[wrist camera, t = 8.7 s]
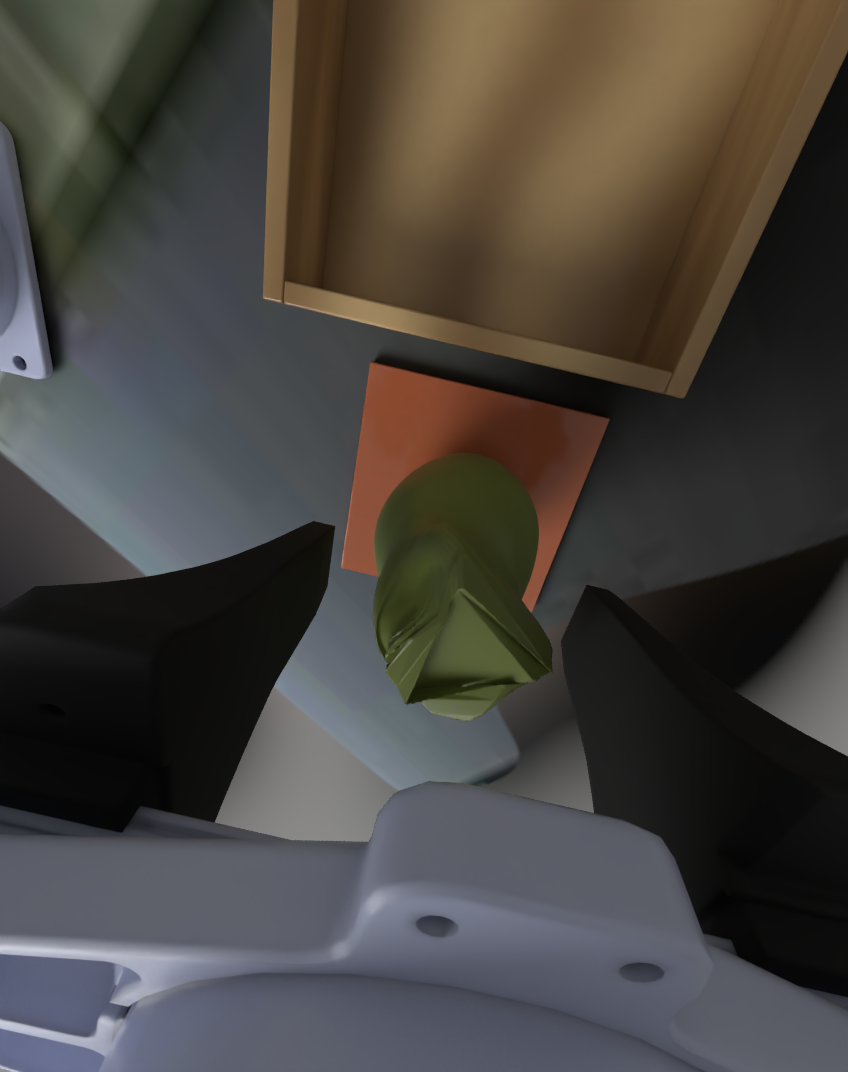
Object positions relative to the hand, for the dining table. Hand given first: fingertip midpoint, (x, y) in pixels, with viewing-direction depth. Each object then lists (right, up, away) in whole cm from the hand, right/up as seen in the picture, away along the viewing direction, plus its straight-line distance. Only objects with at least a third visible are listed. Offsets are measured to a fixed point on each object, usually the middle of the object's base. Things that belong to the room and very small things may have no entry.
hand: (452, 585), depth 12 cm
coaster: (+1, +3, +6) cm, 7 cm away
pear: (+1, +3, +6) cm, 7 cm away
